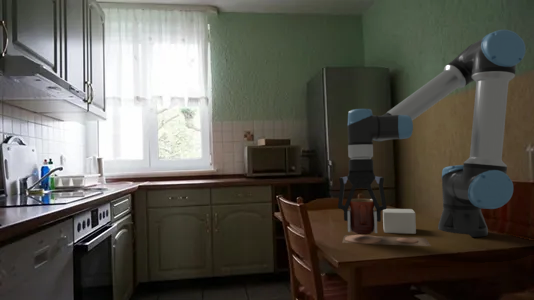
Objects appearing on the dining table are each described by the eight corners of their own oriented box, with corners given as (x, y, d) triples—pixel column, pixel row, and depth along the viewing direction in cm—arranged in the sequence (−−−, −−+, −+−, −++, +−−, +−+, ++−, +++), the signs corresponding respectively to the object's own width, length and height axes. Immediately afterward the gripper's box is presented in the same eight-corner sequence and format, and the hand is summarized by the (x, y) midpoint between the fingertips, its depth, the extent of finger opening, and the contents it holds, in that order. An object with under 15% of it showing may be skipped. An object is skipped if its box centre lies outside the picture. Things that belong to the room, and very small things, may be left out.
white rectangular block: (412, 231, 132) (412, 209, 132) (416, 237, 123) (415, 212, 123) (383, 230, 134) (382, 208, 134) (384, 236, 125) (383, 212, 126)
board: (425, 241, 116) (425, 236, 116) (431, 250, 105) (431, 245, 105) (344, 238, 123) (344, 234, 123) (342, 246, 112) (342, 241, 112)
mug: (348, 229, 123) (347, 198, 123) (375, 230, 121) (374, 198, 121) (348, 237, 111) (347, 203, 111) (379, 238, 109) (378, 203, 109)
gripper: (393, 157, 117) (395, 230, 117) (329, 159, 123) (331, 228, 122) (395, 158, 110) (397, 235, 110) (327, 159, 115) (328, 233, 115)
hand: (362, 231), depth 116 cm, fingers closed on mug, 7 cm apart
